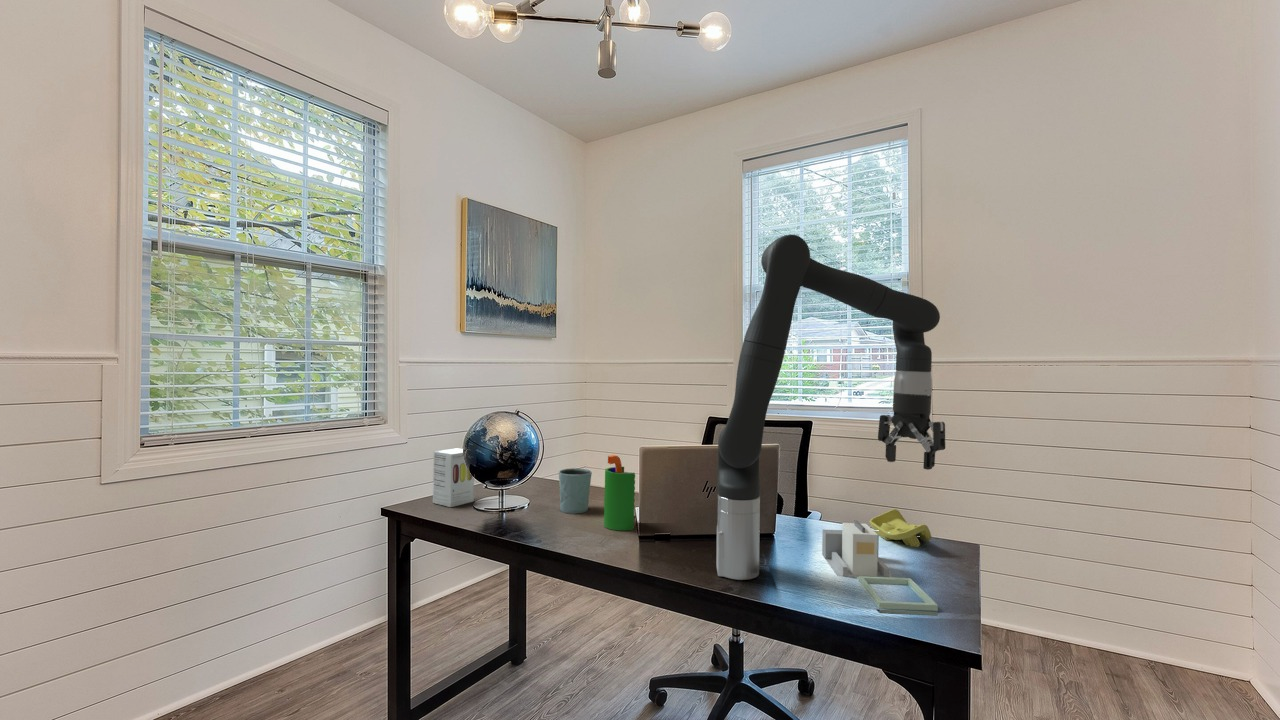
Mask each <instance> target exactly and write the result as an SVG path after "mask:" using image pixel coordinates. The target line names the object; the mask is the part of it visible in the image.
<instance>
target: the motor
mask: <svg viewBox="0 0 1280 720" xmlns="http://www.w3.org/2000/svg"><path fill="white" fill-rule="evenodd" d="M607 464H608V465H614V466H612V467H608V468H605V470H604V503H603V504H604V506H603V509H604V510H603V526H604V528H606V529H608V530H613V531H621V532H623V531H633V530H634V529H635V526H636V516H635V509H636V508H635V496H636V492H635V490H636V485H635V484H636V474H635V472H627V471H625V466H622V461H621V459H620V457H619V456H618V455H615V454H611V455H608V456H607Z"/></svg>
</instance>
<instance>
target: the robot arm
mask: <svg viewBox="0 0 1280 720" xmlns="http://www.w3.org/2000/svg"><path fill="white" fill-rule="evenodd" d="M760 261H761V267H762V269H763V271H764V274H765V279H764V283H763V289H762V293H761V297H760V300H759V302H758V305H757V307H756V309H755V310H754V313H753V315H752V317H751V320H750V323H748V327H747V328H746V329H747V330H746V332H745V335H744V338H743V343H742V347H741V350H740V354H739V358H738V359H739V360H738V364H737V371H736V378H735V379H736V380H735V389H734V390H735V393H734V398H733V403H732V406H731V410H730V413H729V416H728V419H727V422H726V424H725V426H724V427H723V429H722V430H721V431H720V433H719V435H718V441H717V456H718V457H717V524H716V564H715V565H716V572H717V577H724V578H728V579H731V580H738V581H743V580H744V581H745V580H752V579H755V578H757V577H759V575H760V517H761V516H760V514H761V511H760V509H761V508H760V507H761V504H760V503H761V482H760V481H761V480H760V455H761V453H762V447H763V444H762V443H763V438H764V429H765V423H766V416H767V412H768V407H769V406H770V405H769V404H770V401H771V399H772V398H773V397H772V396H773V394H774V392H775V388H776V384H777V381H778V378H779V375H780V371H781V369H782V366H783V365H782V364H783V361H784V358H785V354H786V349H787V344H788V340H789V334H790V332H791V331H790V330H791V326H792V320H793V315H794V309H795V305H796V301H797V298H798V296H799V292H800V289H801V287H803V288H805V289H808V290H811V291H814V292H816V293H820V294H822V295H824V296H826V297H830V298H831V299H834V300H836V301H838V302H840V303H842V304H844V305H847V306H849V307H851V308H853V309H855V310H858V311H860V312H862V313H865V314H867V315H869V316H871V317H874V318H878V319H886V320H890V321H892V332H893V333H892V334H893V339H894V345H895V349H896V357H895V358H896V359H895V375H894V380H893V395H892V411H893V415H892V416H891V415H890V414H881V415H880V416H879V420H878V421H879V422H878V431H877V440H878V441H879V442H882V443H884V444H885V455H884V456H885V459H886V461H887V462H888V463H894V462H896V460H897V459H896V458H897V445H896V443H897V442H898V441H899V440H900V439H902V438H909V439H911V440H917V442H918V443H919V444H921V446H922V447H923V449H924V450H925V451H923V466H922V467H923V470H926V471H928V470H932V469H933V468H934V467H935V464H936V452H939V451H944V450H945V449H946V424H945V422H944V421H931V417H930V416H931V414H932V413H931V411H932V392H933V380H932V362H933V361H932V359H933V357H932V353H933V352H932V348H931V347H930V346H928V345H927V344H926V342H925V334H924V333H928V332H931V331H933V330H934V329H935V328H936V327H938V325H939V322H940V319H941V314H940V311H939V308H938V307H937V306H936V305H935V304H934V303H932V302H931V301H930V300H928V299H926V298H923V297H920V296H917V295H914V294H910V293H908V292H904V291H899V290H897V289H893V288H891V287H889V286H887V285H885V284H882V283H881V282H877V281H875V280H874V279H871V278H869V277H866V276H864V275H860V274H857V273H853V272H849V271H846V270H842V269H838V268H834V267H832V266H828V265H825V264H824V263H821V262H818V261H817V260H815V259H813V258H811V251H810V248H809V245H808V243H807V242H806V241H805V239H804V238H802V237H801V236H798V235H796V234H787V235H783V236H780V237H778V238H776V239H775V240H773V242H771V243H770V244H769V245H767V247H766V248H764V251H763V253H762V254H761V259H760ZM891 425H893V427H894V428H893V429H892V430H890V429H891ZM929 430H931V431H932V435H933V436H931V434H930V433H929Z"/></svg>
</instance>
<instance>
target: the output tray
mask: <svg viewBox="0 0 1280 720" xmlns="http://www.w3.org/2000/svg"><path fill="white" fill-rule="evenodd" d="M857 582H859V584H860V586H861V587H862V589H864V590H865V592H866V593H867V594H868V596H869V597H870V598H871V599H872V601H873V603H875V605H876V606H877V609H876V612H878V613H879V614H886V615H887V614H888V615H910V616H932V617H934V616H936V617H938V616H939V614H938V613H939V612H938V611H939V605H938V603H937V602H935V601H934V600H933V599H932V598H931V597H930V596H929V595H928V594H927V593H926V592H925V591H924V590H923V589H922V588H921V587H920V586H919V585H918V584H917V583H916V582H914V580H913V579H912V578H910V577H894V578H892V577H866V576H858V577H857ZM870 584H882V585H883V584H885V585H907V586H908V587H909V588H910V589H911V590H913V592H915V594H916V595H918V597H919V598H920V599H921V600H922V601H923V602H914V601H913V602H912V601H910V602H909V601H889V600H882V599H881V598H880V596H879V595H878V593H876V592H875V590H874V589H873V588H872V586H870ZM878 608H879V609H878Z"/></svg>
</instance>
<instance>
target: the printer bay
mask: <svg viewBox="0 0 1280 720" xmlns="http://www.w3.org/2000/svg"><path fill="white" fill-rule="evenodd" d="M875 533H876V532H875ZM876 534H877V533H876ZM879 538H880V535H878V547H879ZM821 545H822V546H821V548H822V549H821V551H822V552H821V555H822V556H823V559H824V560H825V561H826V562H827V564H828V565H829V566H830V569H832V570H833V572H834V573H835V575H836V577H841V578H842V577H844V578H845V577H848V578H850V577H851V578H858V576H855V575H852V574H851V573H850V571H849V570H848V567H847V565H846V564H845V563H844V562H843V560H842V529H822V543H821ZM866 577H892V578H895V576H893V575H892V574H891V573H890V568H889V567H888V566H887V564H885V563H884V562H883V561H882V560H881V558H879V557H878V562H877V576H866Z"/></svg>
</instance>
